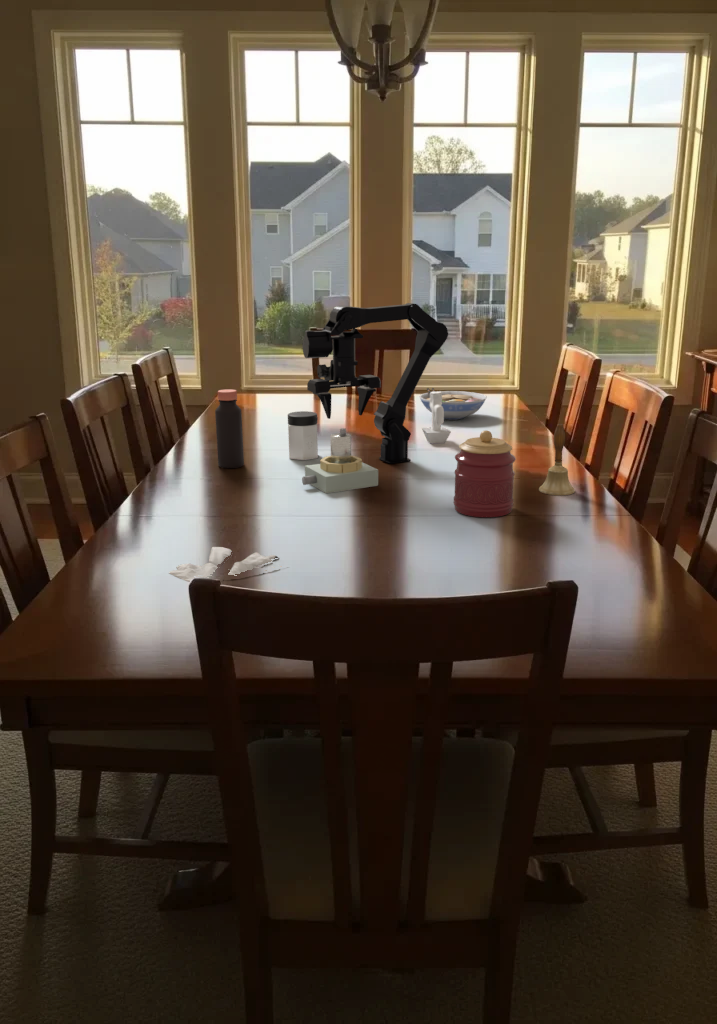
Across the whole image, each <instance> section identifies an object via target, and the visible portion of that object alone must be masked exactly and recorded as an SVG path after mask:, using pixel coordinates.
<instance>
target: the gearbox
mask: <svg viewBox="0 0 717 1024" xmlns="http://www.w3.org/2000/svg"><path fill="white" fill-rule="evenodd" d="M362 459H363V458H360V457H358V456H356V455H351V463H344V464H338V463H331V455H328V456H327V455H326V456H324V457H323V458H321V459H320V460H319V461H320V463H316V464H307V465H304V476H302V477H301V481H302V482H301V483H302V485H303V486H306V485H311V486H313V487H314V488H316V489H318V490H320V491H321V492H323V493H325V494H331V493H338V492H344V491H350V490H358V489H364V488H369V487H370V488H371V487H378V486H379V469H377V468H376V467H373V466H371V465H369V464H367V463H364V462H363V460H362Z"/></svg>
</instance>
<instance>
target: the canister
mask: <svg viewBox="0 0 717 1024" xmlns="http://www.w3.org/2000/svg"><path fill="white" fill-rule="evenodd" d="M458 448H459V449H460V452H457V453H456V454H455V455H454V459H455V460H456V463H457V464H456V468H455V469H454V475H455V476H454V496H453V505H454V510H455V512H457V513H459V514H462V515H464V516H469V517H475V518H498V517H502V516H507V515H508V514H510V513H512V511H513V506H514V500H515V499H514V484H515V483H514V481H515V474H516V473H515V471H514V462H516V459H517V458H516V456H515V455H514V454H512V453H511V451H512V450H513V447H512V445H511V444H509V443H507V441H506V440H505V439H501V438H499V437H493V434H492V432H491V431H489V430H482V431H481V433H480V434H479V437H471V438H467V439H466V440H465V441H464V442H462V443H460V444H459V446H458Z"/></svg>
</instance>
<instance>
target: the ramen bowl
mask: <svg viewBox="0 0 717 1024" xmlns="http://www.w3.org/2000/svg"><path fill="white" fill-rule="evenodd" d="M426 391H427V392H425V393H422V394H420V395H419V399H420V402H421V403H422V404H423V405H422V406H424V408H425V409H426V410H427V411H429V412H430V413H432V410H431V409H430V393H431V392H433V391H434V392H439V391H441V392H442V404H441V406H442V407H443V409H444V420H450V421H451V420H454V421H455V420H462V419H465V417H469V416H470V415H473V414H475V413H477V412H478V411H479V410H480V409H481V408H482V406H483V405H484V403H485V401H486V399H487V398H488V397H487V395H485V394H483V393H478V392H473V391H471V392H470V391H463V390H461V391H460V390H439V391H438V390H437V391H435V388H434V387H432V388H431V390H430V388H429V387H427V388H426Z"/></svg>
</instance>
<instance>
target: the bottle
mask: <svg viewBox="0 0 717 1024" xmlns="http://www.w3.org/2000/svg"><path fill="white" fill-rule="evenodd" d="M217 400H218V402H219V405H218V406H217V408H216V409H215V411H214V414H215V415H214V416H215V428H216V429H215V430H216V432H215V433H216V447H217V448H216V450H217V451H216V452H217V465H218V466H219V468H222V469H238V468H241V467H243V466H244V465H245V453H244V441H243V440H244V437H243V434H244V433H243V415H242V409H241V407H240V406H238V405H237V401H238V390H237V389H219V390H217Z"/></svg>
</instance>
